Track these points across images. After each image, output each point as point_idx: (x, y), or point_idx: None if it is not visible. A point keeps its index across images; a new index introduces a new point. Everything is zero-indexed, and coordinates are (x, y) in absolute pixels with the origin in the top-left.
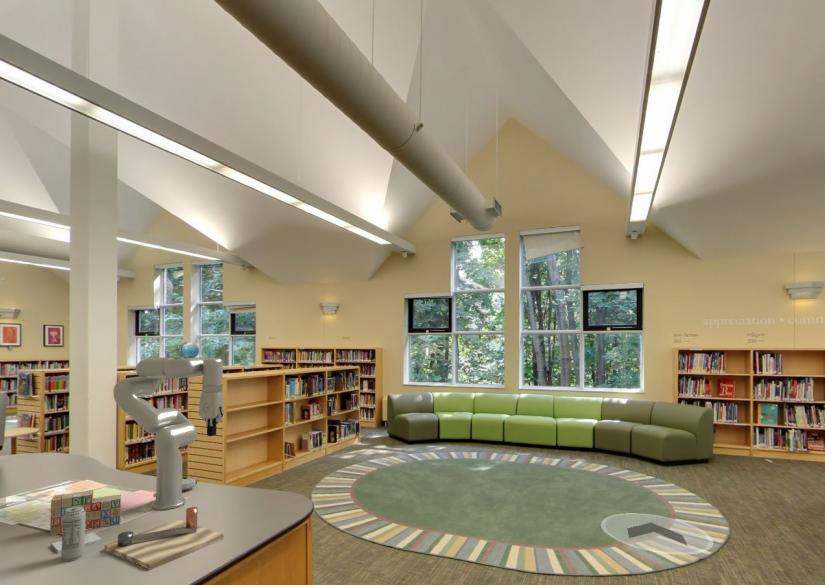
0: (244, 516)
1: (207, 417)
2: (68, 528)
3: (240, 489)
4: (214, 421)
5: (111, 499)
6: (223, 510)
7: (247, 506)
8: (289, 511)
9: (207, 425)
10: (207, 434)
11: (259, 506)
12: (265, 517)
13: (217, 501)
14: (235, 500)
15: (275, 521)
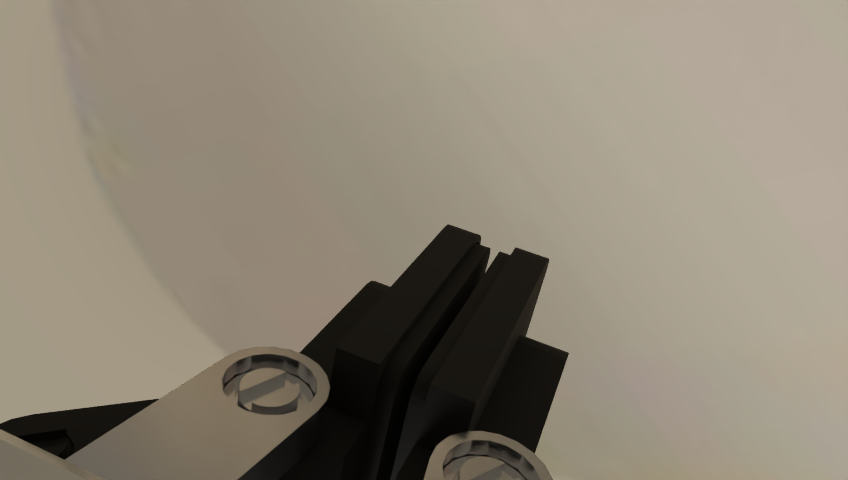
0: (328, 18)
1: (14, 478)
2: None
3: (689, 474)
4: (22, 429)
5: None
6: (534, 75)
7: (427, 184)
8: (161, 164)
9: (476, 435)
10: (513, 256)
11: (357, 200)
12: (209, 43)
13: (705, 230)
14: (580, 271)
15: (125, 4)
